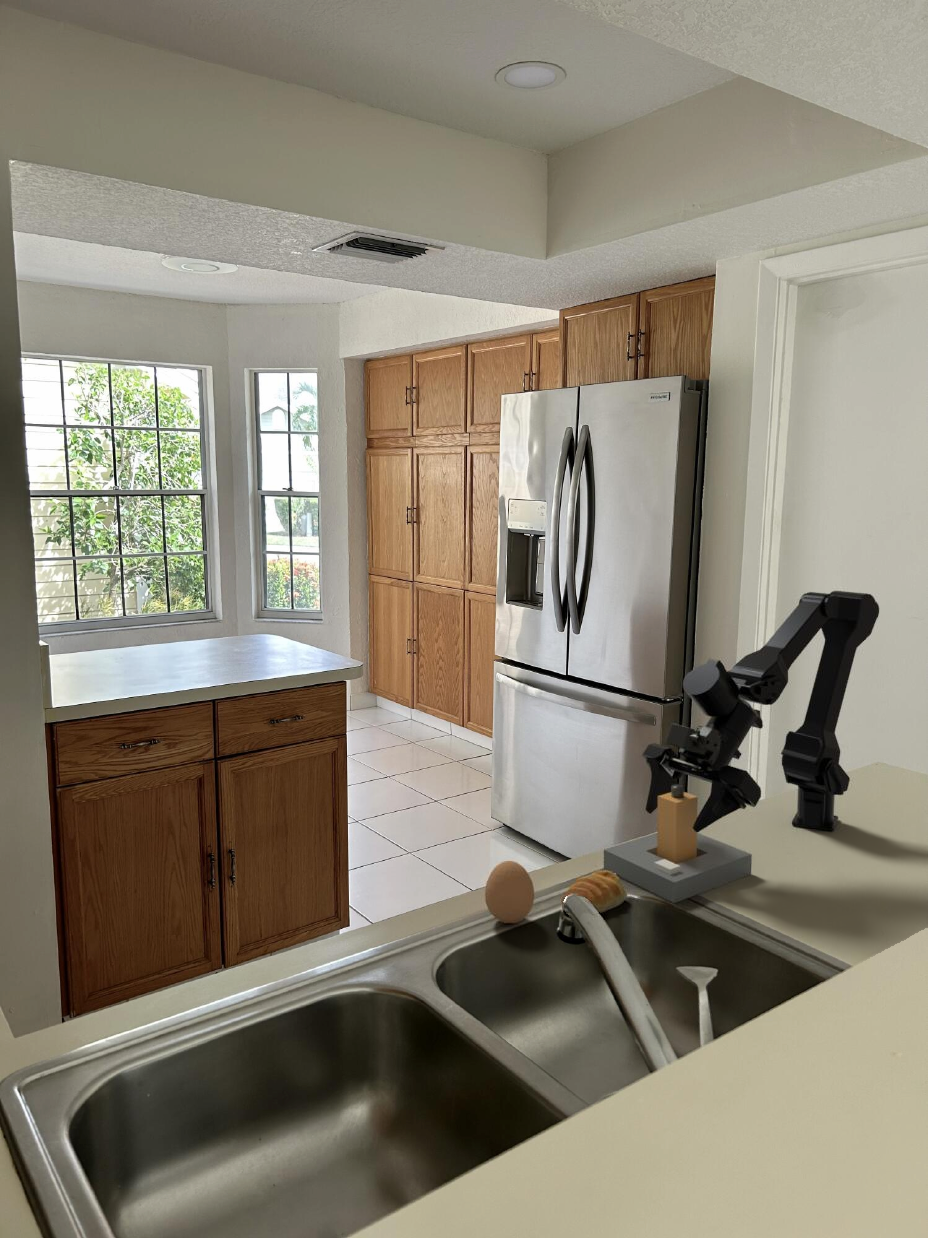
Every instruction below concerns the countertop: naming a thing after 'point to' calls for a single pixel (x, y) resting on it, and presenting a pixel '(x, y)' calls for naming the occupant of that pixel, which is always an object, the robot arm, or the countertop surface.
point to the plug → (676, 825)
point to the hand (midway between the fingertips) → (670, 821)
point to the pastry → (599, 890)
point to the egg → (509, 892)
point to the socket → (677, 867)
